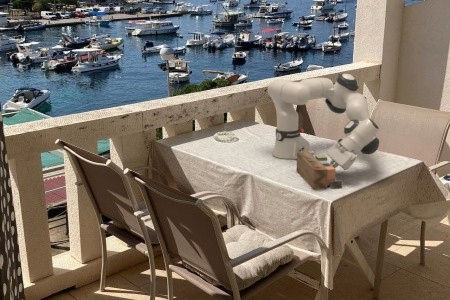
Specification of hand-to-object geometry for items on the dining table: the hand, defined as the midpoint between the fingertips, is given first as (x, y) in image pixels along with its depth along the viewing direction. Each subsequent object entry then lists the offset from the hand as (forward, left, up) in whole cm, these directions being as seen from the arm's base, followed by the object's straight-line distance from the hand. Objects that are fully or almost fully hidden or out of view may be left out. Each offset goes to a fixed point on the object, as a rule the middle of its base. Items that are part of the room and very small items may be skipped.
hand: (328, 169), depth 267 cm
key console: (+5, -2, -4) cm, 7 cm away
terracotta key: (+6, +6, -4) cm, 10 cm away
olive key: (-3, -8, -4) cm, 10 cm away
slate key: (+2, -1, -4) cm, 5 cm away
